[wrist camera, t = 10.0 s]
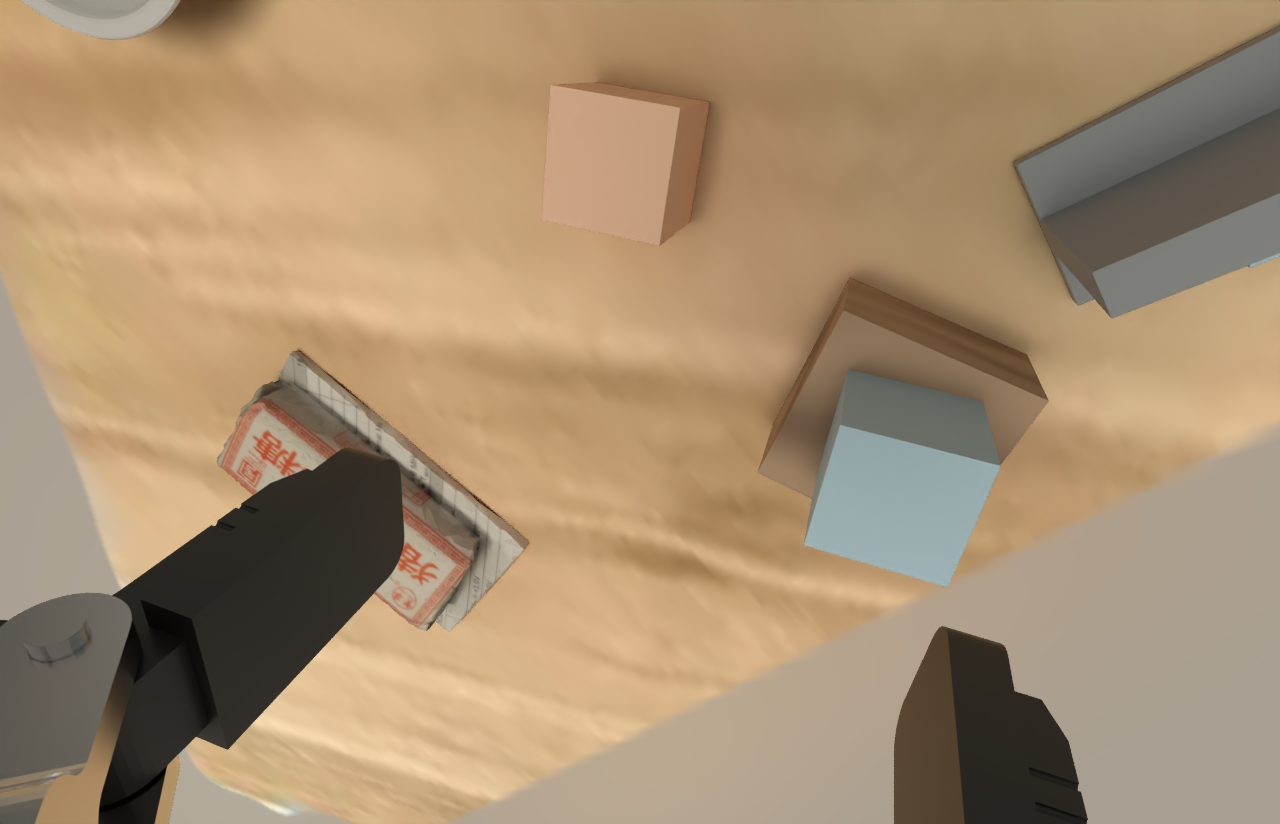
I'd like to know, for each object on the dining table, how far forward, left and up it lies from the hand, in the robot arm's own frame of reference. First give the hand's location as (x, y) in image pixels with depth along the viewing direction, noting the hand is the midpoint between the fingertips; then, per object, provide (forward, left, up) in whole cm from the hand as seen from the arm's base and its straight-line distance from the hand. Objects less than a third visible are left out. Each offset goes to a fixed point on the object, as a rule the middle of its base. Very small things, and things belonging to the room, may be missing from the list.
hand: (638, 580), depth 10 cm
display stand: (-6, +13, -24) cm, 28 cm away
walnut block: (+6, +5, -24) cm, 25 cm away
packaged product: (+21, -22, -24) cm, 39 cm away
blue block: (+6, +6, -19) cm, 21 cm away
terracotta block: (-2, -8, -24) cm, 25 cm away
